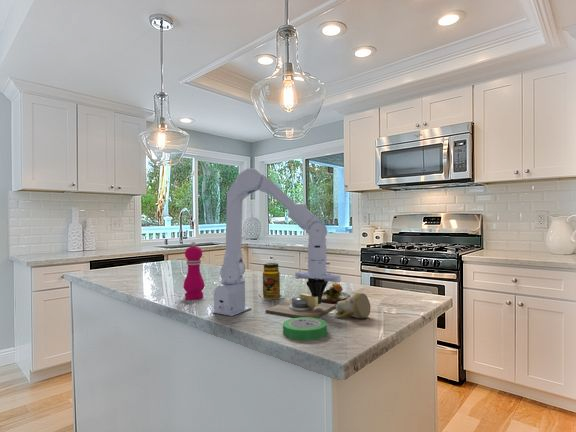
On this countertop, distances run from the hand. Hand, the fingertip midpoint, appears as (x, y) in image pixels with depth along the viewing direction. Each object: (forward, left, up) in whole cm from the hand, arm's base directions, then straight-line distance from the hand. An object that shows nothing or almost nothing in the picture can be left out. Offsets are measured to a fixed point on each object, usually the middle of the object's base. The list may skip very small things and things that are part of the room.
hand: (317, 303), depth 113 cm
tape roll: (-20, -7, -3) cm, 21 cm away
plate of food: (+15, +1, -3) cm, 15 cm away
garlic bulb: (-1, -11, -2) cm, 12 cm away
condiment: (+8, +22, -2) cm, 24 cm away
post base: (-2, +4, -2) cm, 5 cm away
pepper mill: (-7, +45, -2) cm, 46 cm away
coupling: (-2, +3, -1) cm, 4 cm away
